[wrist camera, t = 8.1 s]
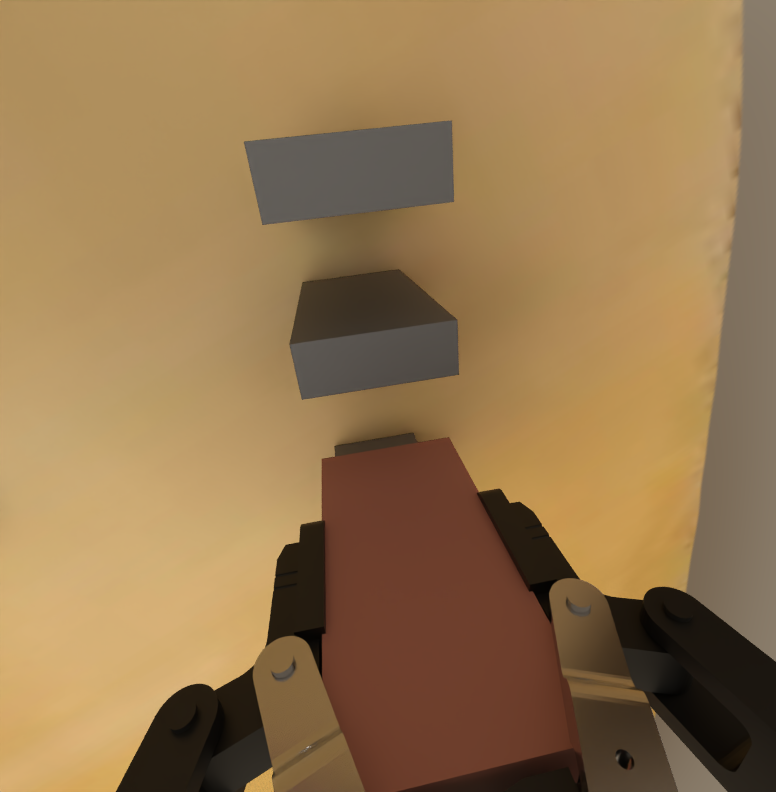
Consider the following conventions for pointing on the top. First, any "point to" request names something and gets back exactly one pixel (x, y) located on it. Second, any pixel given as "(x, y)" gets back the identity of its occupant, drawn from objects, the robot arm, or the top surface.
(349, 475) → the domino
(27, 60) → the top surface
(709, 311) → the top surface
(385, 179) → the domino
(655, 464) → the top surface
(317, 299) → the domino
